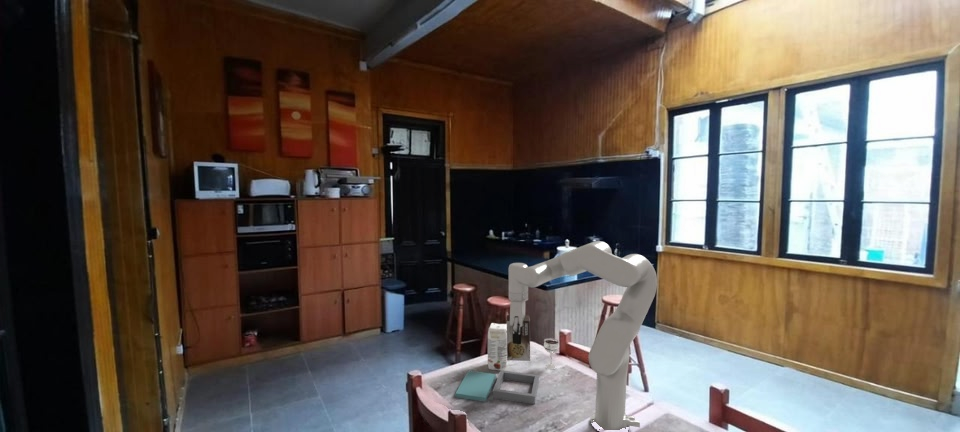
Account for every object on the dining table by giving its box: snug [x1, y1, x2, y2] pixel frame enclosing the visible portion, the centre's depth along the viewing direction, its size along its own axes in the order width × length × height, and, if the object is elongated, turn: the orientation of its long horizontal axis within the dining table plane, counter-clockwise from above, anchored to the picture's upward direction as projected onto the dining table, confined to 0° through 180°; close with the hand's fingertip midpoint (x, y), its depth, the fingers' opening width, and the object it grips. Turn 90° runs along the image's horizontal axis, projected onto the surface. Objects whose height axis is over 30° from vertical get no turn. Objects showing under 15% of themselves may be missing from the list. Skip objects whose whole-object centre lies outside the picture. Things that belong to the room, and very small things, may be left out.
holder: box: [492, 370, 540, 405], centre depth 152 cm, size 16×16×3 cm
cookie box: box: [506, 314, 531, 362], centre depth 150 cm, size 9×6×16 cm
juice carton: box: [487, 322, 509, 372], centre depth 169 cm, size 8×9×19 cm
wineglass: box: [543, 337, 560, 370], centre depth 170 cm, size 7×7×12 cm
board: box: [454, 370, 497, 402], centre depth 154 cm, size 12×18×2 cm, turn 166°
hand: (518, 339), depth 150 cm, fingers closed on cookie box, 7 cm apart
